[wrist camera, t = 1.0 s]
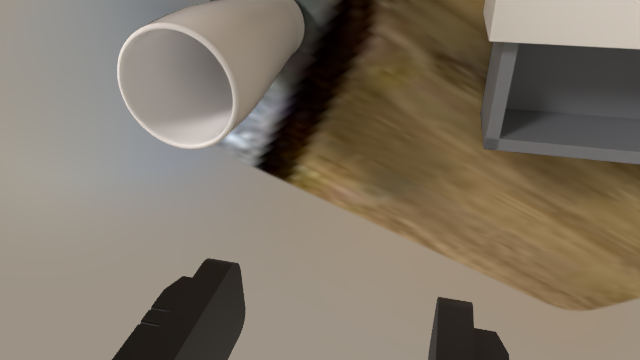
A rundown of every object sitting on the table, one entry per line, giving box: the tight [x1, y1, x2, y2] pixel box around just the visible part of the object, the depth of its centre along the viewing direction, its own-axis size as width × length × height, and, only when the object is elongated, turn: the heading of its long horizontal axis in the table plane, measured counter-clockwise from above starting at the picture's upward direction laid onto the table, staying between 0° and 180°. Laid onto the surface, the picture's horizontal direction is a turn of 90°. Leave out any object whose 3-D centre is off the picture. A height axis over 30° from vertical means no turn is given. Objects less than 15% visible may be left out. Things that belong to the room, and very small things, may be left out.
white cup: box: [117, 0, 305, 149], centre depth 30 cm, size 7×7×15 cm
